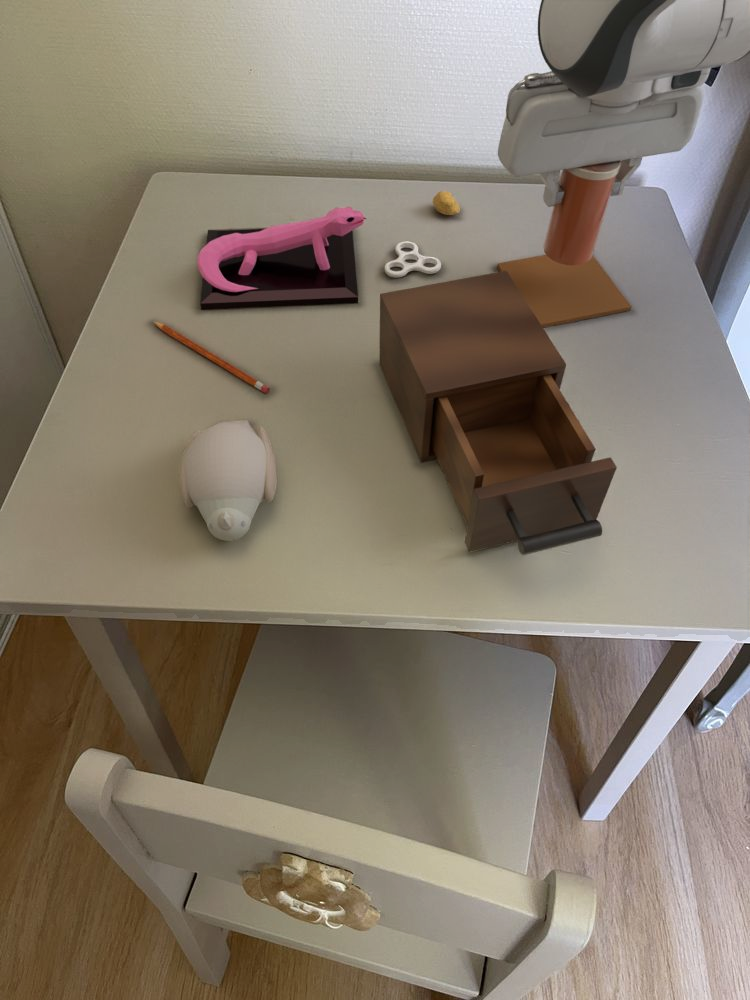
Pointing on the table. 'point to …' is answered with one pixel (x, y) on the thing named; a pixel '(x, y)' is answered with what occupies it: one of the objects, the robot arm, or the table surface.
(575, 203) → the tumbler
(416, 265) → the fidget spinner
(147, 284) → the table surface
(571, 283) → the mat
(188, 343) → the pencil
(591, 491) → the drawer
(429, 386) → the cabinet
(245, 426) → the decorative bird
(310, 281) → the dark display base
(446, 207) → the rock
